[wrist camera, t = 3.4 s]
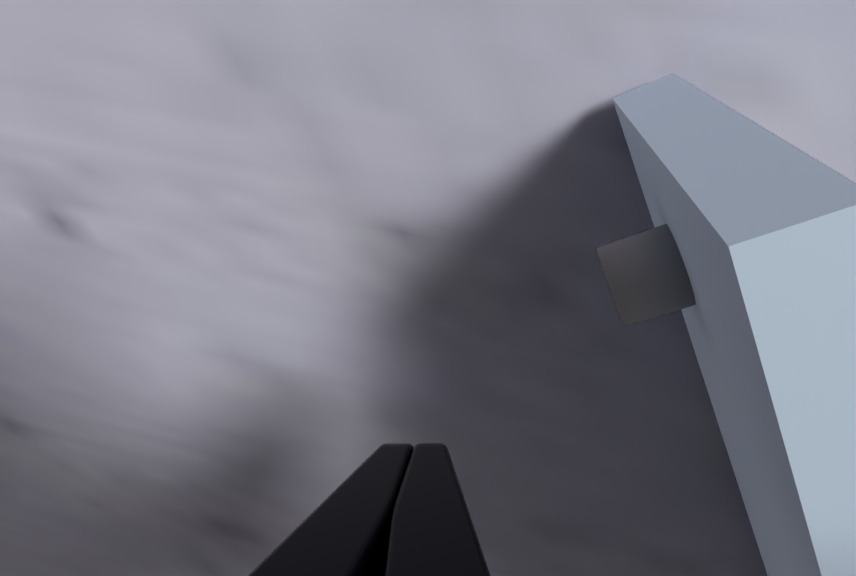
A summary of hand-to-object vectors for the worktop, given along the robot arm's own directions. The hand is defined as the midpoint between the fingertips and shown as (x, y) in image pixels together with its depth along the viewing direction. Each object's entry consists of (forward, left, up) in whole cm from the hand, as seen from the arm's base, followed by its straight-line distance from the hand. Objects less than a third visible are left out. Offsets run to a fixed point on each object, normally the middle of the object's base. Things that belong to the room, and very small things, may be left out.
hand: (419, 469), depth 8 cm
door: (-2, +5, -5) cm, 7 cm away
